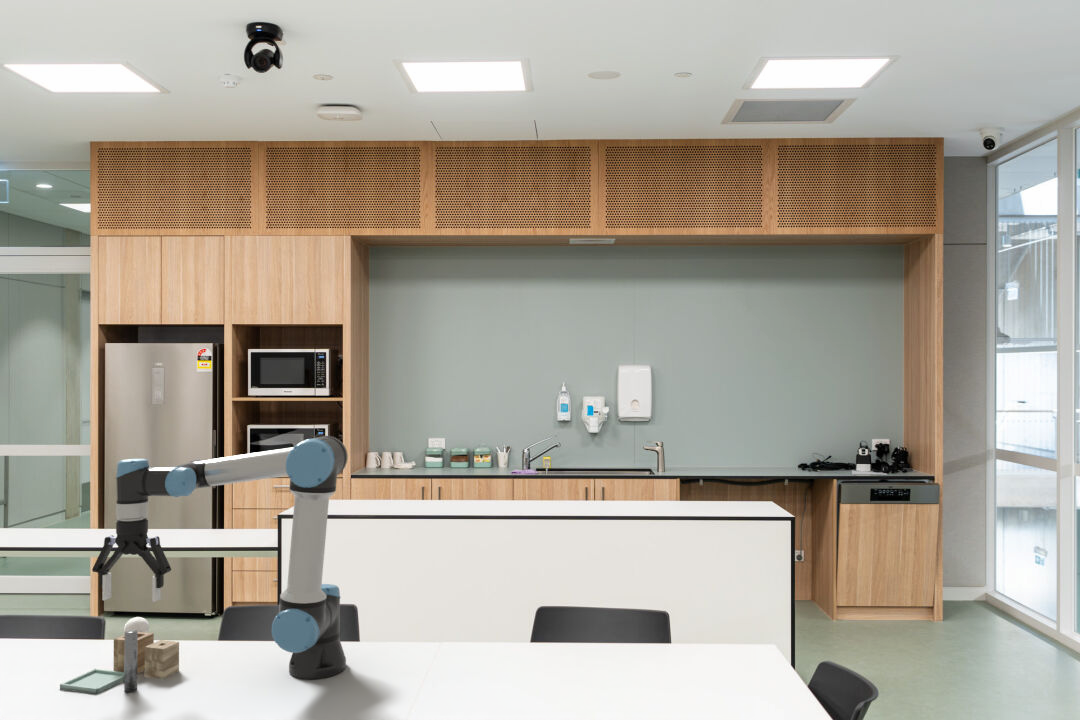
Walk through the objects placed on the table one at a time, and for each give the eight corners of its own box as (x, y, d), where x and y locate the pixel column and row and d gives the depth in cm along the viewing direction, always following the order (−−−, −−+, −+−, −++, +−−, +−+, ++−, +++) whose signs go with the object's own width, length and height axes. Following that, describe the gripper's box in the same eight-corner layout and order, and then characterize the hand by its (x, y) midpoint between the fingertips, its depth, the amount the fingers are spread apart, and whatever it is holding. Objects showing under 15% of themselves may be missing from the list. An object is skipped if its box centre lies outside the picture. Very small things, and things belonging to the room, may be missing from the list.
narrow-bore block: (178, 671, 226) (179, 641, 226) (163, 679, 220) (163, 649, 220) (160, 669, 227) (160, 639, 227) (144, 676, 222) (144, 647, 222)
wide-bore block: (153, 665, 230) (153, 633, 230) (135, 674, 223) (135, 641, 223) (132, 663, 232) (132, 631, 232) (113, 672, 225) (113, 639, 225)
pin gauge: (139, 689, 213) (140, 630, 213) (131, 693, 210) (131, 634, 210) (130, 687, 214) (130, 629, 214) (121, 692, 211) (121, 633, 211)
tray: (130, 677, 221) (130, 672, 221) (97, 693, 210) (97, 689, 210) (95, 673, 224) (95, 668, 224) (59, 689, 213) (59, 684, 213)
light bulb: (130, 661, 233) (130, 622, 233) (119, 656, 237) (119, 618, 237) (153, 655, 238) (153, 616, 239) (141, 650, 242) (142, 612, 243)
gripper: (185, 516, 219) (184, 596, 219) (95, 514, 221) (95, 594, 221) (170, 521, 212) (169, 604, 212) (77, 520, 214) (77, 602, 214)
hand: (131, 599), depth 216 cm, fingers open, 13 cm apart
